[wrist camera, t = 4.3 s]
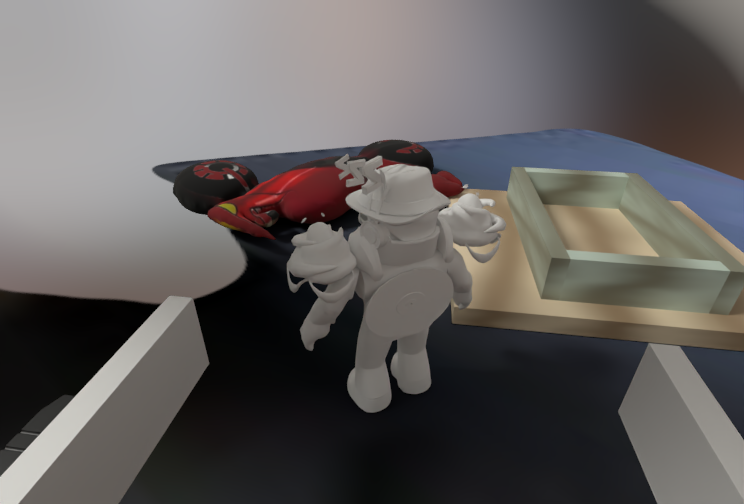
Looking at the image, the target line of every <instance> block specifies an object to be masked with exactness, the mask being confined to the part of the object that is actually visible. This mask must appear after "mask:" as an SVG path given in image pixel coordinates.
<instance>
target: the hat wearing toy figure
mask: <svg viewBox="0 0 744 504" xmlns="http://www.w3.org/2000/svg"><path fill="white" fill-rule="evenodd" d="M348 159H349V156H348V154H347V155H345V156H344V157H342V158H341V159H339V160H338V161H336V162H335V166H336V167H337V168H339V169H342V170H344V172H342V173H341V174H339V179H340V180H341V179H342V178H344V177H345V176H347V175H348V174H349V173H351V174H352V175H353V177H354V178H353V179H348V180H346V187H351V186H356V185H360V184H364V177H363V176H365V177H366V178H368V181H367V182H366V184H364V185H363V186H361V187H362V189H360V190H357V191H355V192H353V193H351V194H349V195H348V196H347V197H346V199H345V200H346V203H347V205H348V206H350V207H351V208H353V209H354V210H356V211H358V212H359V216H358V219H359V223H360V224H361V226H360V227H358V228H357V230H356V231H355V232H353V233H351V234H350V235H349V239H348V241H346V240H345V238H344V236H343V229H342V227H340V228H339V230H338V232H335V231H333V230H332V229H331V225H330V224H328V225H327V224H325V223H322V222H317V223H314V224H312V225H310V226H309V228H308V231H307V232H305V233H302V234H298V235H295V236H294V237H293V239H292V240H291V241H292V243H293V245H294V246H297V247H296V248H295V250H294V252H293V254H291V255H292V256H291V257H290V259H289V261H288V262H287V277H288V284H289V288H290V290H291V291H292V292H294V293H295V292H297V291H298V289H299V287H300V286H301V285H302V284H303V283H304V282H306V281H309V284H310V286H311V287H312V289H313V291H314V292H315V293H316V294H317V296H318V299H317V300H316V301H315V303H314V305H313V307H312V309H311V311H310V312H309V314H308V315H307V317H306V319H305V320H304V323H303V325H302V327H301V328H300V332H301V339H302V341H303V343H304V346H305V348H306V349H307V350H310V351H312V350H313V349H314V347H313V345H314V343H315V341H316V340H317V339H320V338H323V337H325V336H326V335H327V334H328V332H329V331H330V325H331V324H334V323H335V320H336V318H337V317H338V315H339V314H340V313H341V311H342V310H343V308H344V306H345V305H346V303H347V302H348V300H349V299H352V298H353V295H354V291H356V293H357V295H358V296H359V297H360V298H361V299H363V301H364V315H363V319H362V323H361V327H360V330H359V335H358V341H357V350H356V359H355V368H354V369H353V370H352V371H351V373H350V374H349V376H348V381H347V388H348V392H349V394H350V396H351V398H352V399H353V400H354V401H355V403H356V404H357V405H358V406H359V407H360V408H361V409H362V410H364V411H365V412H370V413H375V412H378V411H381V410H383V409H385V408H386V407H387V406H388V405H389V404H390V402H391V388H390V380H389V375H388V371H387V366H386V362H385V358H386V356H387V353H388V351H389V348H390V346H391V343H392V341H394V340H397V353H395V354H394V356H393V358H392V362H391V372H392V375H393V376H394V377H395V378H396V379H397V382H398V387H399V388H400V389H401V390H402V391H403V392H405V393H408V394H419V393H422V392H424V391H426V390H428V388H429V387H430V385H431V377H430V367H429V362H428V356H427V352H426V347H425V346H426V341H427V336H428V331H429V326H430V325H431V324H432V322H434V321H435V320H436V319H437V318H438V317H439V316H440V315H441V314H442V313H443V312H444V311H445V309H446V308H447V307H448V305H449V303H450V301H451V299H453V300H454V303H455V304H456V305H458V308H459V310H462V309H465V308H467V307H468V306H469V304H470V303H471V301H472V284H473V281H472V276H471V273H470V272H469V271H468V270H467V268H466V265H465V262H464V259H463V257H462V255H461V254H460V253H459V252H458V251H457V250H456V249H455V248H453V242H454V243H455V244H457V245H459V246H466V247H467V249H468V250H469V252H470V254H471V255H472V257H473V258H474V259H475V260H477V261H478V262H480V263H486V262H487V261H489V260H491V259H492V257H493V256H494V255H495V253H496V252H497V250H498V248H499V245H500V238H501V234H500V233H497V232H498V231H503V230H505V227H506V223H505V221H504V219H503V218H501V217H500V216H497V215H495V214H493V213H490V212H489V211H488V210H486V209H482V208H483V207H484V206H490V207H494V206H495V201H494V200H492V199H479V198H478V196H479V193H478V192H477V193H476V195H477V196H476V195H475V194H472V193H468V194H465V195H463V196H461V198H460V199H459V200H458V202H456V203H454V204H453V205H452V207H449V208H445V209H443V210H441V211H440V212H439V210H440V209H442V208H444V207H446V206H448V205H450V204H451V201H450V200H449V199H448V198H447V197H446V196H445V195H443V194H441V193H440V192H438V191H436V189H435V188H434V187H433V182H432V176H431V173H430V171H429V169H428V168H425V167H418V166H408V165H405V164H396V165H390V166H386V167H383V168H379V169H378V170H376V168H378V167H379V166H381V165H383V162H382V156H377V157H375V158H373V159H371V160H369V161H367V162H365V159H361V160H355V161H348V162H347V165H346V164H344V162H346V161H347V160H348ZM357 168H359V170H358V169H357ZM374 169H375V170H374ZM362 175H363V176H362ZM466 187H468V184H467V185H464V187H462V188H466ZM321 215H322V216H323V217H324V214H323V213H321ZM306 219H307V218H306V217H305V218H304V219H303V220H302V222H301V223H303V222H304V221H305V220H306ZM497 241H498V243H497V245H496V246H495V248H494V249H493V250H492V251H491V252H489V253H487V254H479V253H476V252H473V251H472V250H471V248H470V247H482V246H485V245H488V244H493V243H495V242H497ZM289 271H290V272H291V273H292V274H293V275H294V277H303V278H305V279H304V280H302V281H300V282H299V283H298V284H297V285H296V284H293V283H292V282H291V280H290V276H289ZM312 283H318V284H323V285H326V284H328V286H327V289H326V291H325V292H321V291H319V290H318V289H317V288H315V287H314V286H313V284H312Z"/></svg>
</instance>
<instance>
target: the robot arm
mask: <svg viewBox="0 0 744 504" xmlns="http://www.w3.org/2000/svg"><path fill="white" fill-rule="evenodd" d="M208 365H209V360H208V356H207V352H206V348H205V344H204V340H203V336H202V332H201V328H200V324H199V320H198V316H197V312H196V308H195V305H194V301H193V298H190V297H180V296H169V297H168V298H167V299H166V300H165V301H164V302H163V303H162V304H161V305H160V306H159V307H158V308H157V309H156V310H155V312H154V313H153V314H152V315H151V316H150V317H149V318H148V319H147V320H146V321H145V322H144V323H143V324H142V325H141V327H140V328H139V329H138V330H137V331H136V332H135V333H134V334H133V335H132V336H131V337H130V338H129V339H128V340H127V342H126V343H125V344H124V345H123V346H122V347H121V348H120V349H119V350H118V351H117V352H116V353H115V354H114V355H113V357H112V358H111V359H110V360H109V361H108V362H107V363H106V364H105V365H104V366H103V367H102V368H101V369H100V370H99V372H98V373H97V374H96V375H95V376H94V377H93V378H92V379H91V380H90V381H89V382H88V383H87V384H86V385H85V387H84V388H83V389H82V390H81V391H80V392H79V393H78V394H77V395H76V396H70V395H63V396H61V397H60V398H58V399H57V400H55V401H54V402H52V403H51V404H49V405H48V406H46V407H45V408H43V409H42V410H40V411H39V412H38V413H37V414H36V415H35V416H34V417H33V418H32V419H31V420H30V421H29V422H28V423H27V424H26V425H25V426H24V427H23V428H22V429H21V433H20V434H17V435H16V436H15V437H14V438H13V439H12V440H11V441H10V442H9V443H8V444H7V445H6V447H5V449H4V450H1V451H0V504H119V502H120V500H121V499H122V497H123V496H124V494H125V493H126V491H127V490H128V488H129V487H130V485H131V483H132V482H133V480H134V479H135V477H136V476H137V474H138V473H139V471H140V470H141V468H142V466H143V465H144V463H145V462H146V460H147V459H148V457H149V456H150V454H151V453H152V451H153V449H154V448H155V446H156V445H157V443H158V442H159V440H160V439H161V437H162V436H163V434H164V433H165V431H166V429H167V428H168V426H169V425H170V423H171V422H172V420H173V419H174V417H175V416H176V414H177V412H178V411H179V409H180V408H181V406H182V405H183V403H184V402H185V400H186V399H187V397H188V395H189V394H190V392H191V391H192V389H193V388H194V386H195V385H196V383H197V382H198V380H199V378H200V377H201V375H202V374H203V372H204V371H205V369H206V368H207V366H208ZM618 413H619V415H620V417H621V420H622V422H623V424H624V427H625V429H626V431H627V434H628V436H629V438H630V441H631V443H632V445H633V448H634V450H635V453H636V455H637V457H638V460H639V462H640V464H641V467H642V469H643V471H644V474H645V476H646V478H647V481H648V483H649V485H650V488H651V490H652V492H653V495H654V497H655V499H656V502H657V504H744V440H743V438H742V437H741V435H740V434H739V432H738V431H737V429H736V428H735V427H734V425H733V424H732V422H731V421H730V419H729V418H728V416H727V415H726V413H725V412H724V411H723V409H722V408H721V406H720V405H719V403H718V402H717V400H716V399H715V397H714V396H713V394H712V393H711V392H710V390H709V389H708V387H707V386H706V384H705V383H704V381H703V380H702V378H701V377H700V376H699V374H698V373H697V371H696V370H695V368H694V367H693V365H692V364H691V362H690V361H689V360H688V358H687V357H686V355H685V354H684V352H683V351H682V349H681V348H680V346H673V345H663V344H653V343H649V344H648V346H647V348H646V351H645V353H644V355H643V357H642V359H641V362H640V364H639V366H638V368H637V371H636V373H635V375H634V377H633V379H632V382H631V384H630V386H629V388H628V391H627V393H626V395H625V397H624V399H623V402H622V404H621V406H620V408H619V410H618Z"/></svg>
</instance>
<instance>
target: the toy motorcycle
mask: <svg viewBox="0 0 744 504" xmlns="http://www.w3.org/2000/svg"><path fill="white" fill-rule="evenodd" d="M377 156H382V162H383V165H381V166H379V167H378V168H376V170H378V169H379V168H383V167H386V166H390V165H396V164H405V165H408V166H418V167H425V168H428V169H429V171H430V173H431V172H432V170H433V167H434V164H433V158H432V156H431V154H430V152H429V151H428V150H427V149H425V148H424V147H422V146H421V145H418V144H416V143H413V142H409V141H403V140H383V141H379V142H375V143H372V144H370V145H368V146H366V147H365V148H363V149H362V150H361V152H360V153H359V155H358V156H355V157H349V159H348V160H347V161H346V162H344V164H346V165H347V162H348V161H355V160H361V159H365V162H367V161H369V160H371V159H373V158H375V157H377ZM341 158H342V156H336V157H328V158H324V159H320V160H315V161H311V162H307V163H305V164H301V165H298V166H296V167H294V168H292V169H290V170H288V171H286V172H283V173H281V174H279V175H277V176H275V177H274V178H272V179H271V180H269V181H266V182H263V183H260V184H259V183H258V180H257V177H256V176H255V174H254V173H253V172H252V171H251V170H250V169H248V168H247V167H245V166H243V165H241V164H238V163H235V162H231V161H224V160H214V161H206V162H201V163H198V164H195V165H192V166H190V167H188V168H186V169H184V170H183V171H182V172H180V173H179V174H178V176H177V177H176V179H175V182H174V187H173V193H174V195H175V196H176V197H177V198H178V200H179V202H180V203H181V204H182V205H183V206H184V207H185V208H186V209H188V210H190V211H192V212H195V213H199V214H205V215H208V217H209V218H210V219H211V220H213V221H214V222H216V223H218V224H220V225H222V226H224V227H227V228H231V229H233V230H237V231H240V232H243V233H248V234H251V235H252V236H254V237H267V238H269V239H273V240H276V239H275V237H273V236H272V235H271V234H270V233H269V232H268V231H267V230H265V229H263V228H262V227H270V226H272V225H274V224H275V223H276V222H277V221H278V218H279V217H281V218H285V219H287V220H290V221H294V222H298V223H301V222H302V220H303V219H304V218H305V217H306V218H307V219H306V220H305V221H304V222H303V223H308V224H314V223H317V222H322V223H323V222H327V221H331V220H334V219H336V218H338V217H340V216H341V215H343V214H344V213H345V212H346V211H348V210H349V209H351V207H350V206H348V205H347V203H346V200H345V199H346V197H347V196H348V195H349V194H351V193H353V192H355V191H357V190H360V189H362V187H361V186H363V185H364V184H366V182H367V181H368V178H366V177H365V176H363V175H362V176H363V177H364V184H360V185H356V186H351V187H346V180H348V179H353V178H354V177H353V175H352V174H351V173H349V174H348V175H347V176H345V177H344V178H342V179H341V180H340V179H339V174H341V173H342V172H344V170H342V169H339V168H337V167H336V166H335V162H336V161H338V160H339V159H341ZM357 169H358V170H359V168H357ZM374 170H375V169H374ZM431 176H432V182H433V187H434V188H435V189H436V191H438V192H440V193H441V194H443V195H445V196H446V197H451V196H455V195H458V194H460V193H461V192H463V190H464V188H462V187H463V186H462V183H461V181H460V180H459V179H458V178H456V177H455V176H454V175H452V174H451V173H449V172H447V171H440V172H438V173H437V174H431ZM321 213H323V214H324V217H323V216H322V215H321ZM255 223H256V224H255ZM257 224H258V225H259V226H258V225H257ZM260 226H261V227H260Z"/></svg>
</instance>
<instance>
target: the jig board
mask: <svg viewBox="0 0 744 504" xmlns="http://www.w3.org/2000/svg"><path fill="white" fill-rule="evenodd" d="M477 192H478V193H479V196H478V198H479V199H492V200H494V201H495V206H494V207H490V206H484V207H483V208H482V209H486V210H488V211H489V212H490V213H493V214H495V215H497V216H500V217H501V218H503V219H504V221H505V223H506V227H505V230H503V231H498V232H497V233H500V234H501V238H500V245H499V248H498V250H497V252H496V253H495V255H494V256H493V257H492V259H491V260H489V261H487V262H486V263H480V262H478V261H477V260H475V259H474V258H473V257H472V255H471V254H470V252H469V250H468V249H467V247H466V246H459V245H457V244H455V243H454V242H453V248H455V249H456V250H457V251H458V252H459V253H460V254H461V255H462V257H463V259H464V262H465V265H466V268H467V270H468V271H469V272H470V273H471V276H472V281H473V284H472V301H471V303H470V304H469V306H468V307H467V308H465V309H462V310H459V308H458V305H456V304H455V303H454V300H453V299H451V311H452V324H463V325H473V326H484V327H494V328H505V329H515V330H526V331H536V332H547V333H557V334H568V335H578V336H589V337H599V338H610V339H620V340H631V341H641V342H652V343H663V344H673V345H684V346H694V347H705V348H715V349H726V350H736V351H744V253H742V252H741V251H740V250H739V249H738V248H736V247H735V246H734V245H733V244H732V243H730V242H729V241H728V240H727V239H726V238H724V237H723V236H722V235H721V234H719V233H718V232H717V231H716V230H715V229H713V228H712V227H711V226H710V225H709V224H707V223H706V222H705V221H704V220H703V219H701V218H700V217H699V216H698V215H697V214H695V213H694V212H693V211H692V210H690V209H689V208H688V207H687V206H686V205H684V204H683V203H682V202H680V201H668V200H667V199H666V198H665V197H664V196H663V195H661V194H660V193H659V192H658V191H657V190H656V189H654V188H653V187H652V186H651V185H650V184H649V183H648V182H646V181H645V180H644V179H643V178H642V177H641V176H640V175H638V174H637V173H618V172H599V171H580V170H561V169H542V168H524V167H512V170H511V175H510V180H509V186H508V191H495V190H478V189H464V190H463V192H461V193H460V194H458V195H455V196H451V197H448V199H449V200H450V201H451V204H450V205H448V208H449V207H452V205H453V204H454V203H456V202H458V200H459V199H460V198H461V196H463V195H465V194H468V193H472V194H475V195H476V193H477ZM476 196H477V195H476ZM497 243H498V241H497V242H495V243H493V244H488V245H485V246H482V247H470V248H471V250H472V251H473V252H476V253H479V254H487V253H489V252H491V251H492V250H493V249H494V248H495V246H496V245H497Z"/></svg>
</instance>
